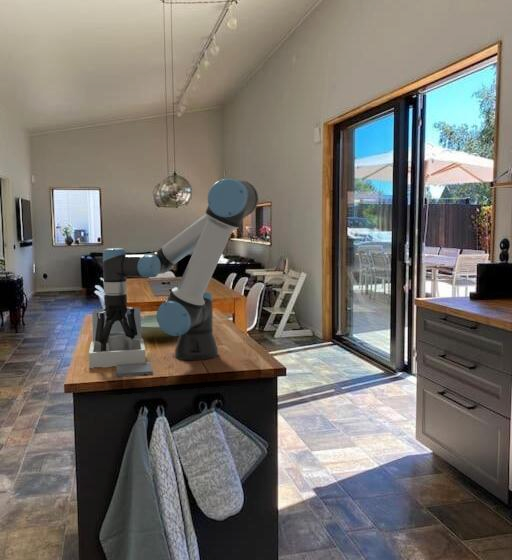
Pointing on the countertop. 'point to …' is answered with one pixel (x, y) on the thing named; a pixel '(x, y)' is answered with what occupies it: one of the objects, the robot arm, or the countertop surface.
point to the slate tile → (133, 369)
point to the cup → (119, 341)
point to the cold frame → (117, 357)
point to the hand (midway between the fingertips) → (117, 358)
